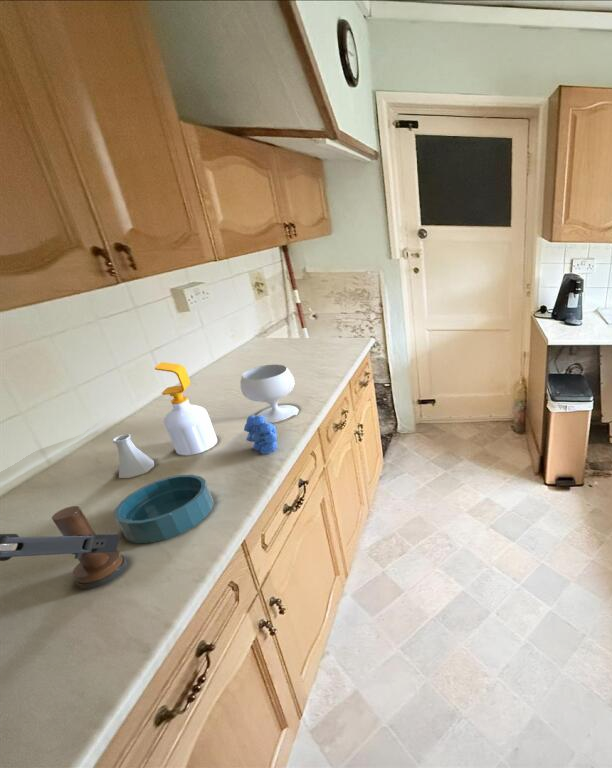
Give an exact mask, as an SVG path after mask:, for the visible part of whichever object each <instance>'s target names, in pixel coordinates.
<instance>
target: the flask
mask: <svg viewBox="0 0 612 768" xmlns="http://www.w3.org/2000/svg"><path fill="white" fill-rule="evenodd" d="M112 443H113V444H114V445H116V447H117V451H118V457H119V458H118V459H119V461H118V463H119V464H118V479H128V478H129V479H130V478H134V477H138V476H141V475H143V474H146V473H148V472H149V471H150V470H151V469H152V468H154V467H155V463H154V462H155V461H154V460H153V459H152V458H151V457H149V456H148V455H147V454H145V453H144V452H143V451H142V450H140V449H139V448H138V447H137V446H136V445H135V444H134V442H133V441H132V439H131V434H130V433H128V434H121V435H117V436H115V437H113V438H112Z"/></svg>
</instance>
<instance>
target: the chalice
mask: <svg viewBox="0 0 612 768" xmlns="http://www.w3.org/2000/svg"><path fill="white" fill-rule="evenodd" d="M295 385H296V381H295V378H294V375H293V374H292V372H291V371H290V369H289V368H288V367H287V366H285V365H284V364H283V365H282V364H266V365H259V366H256V367H253V368H250V369H248V370H246V371H245V372H243V373H242V375H241V378H240V391H241V393H242V395H243V396H244V397H245V398H246V399H247V400H250V401H253V402H258V403H266V404H268V405H269V406H270V407H268V408H266V409H264V410H262V411H260V412H258V414H257V415H260V416H263V417H265V418H266V420H265V422H269V423H276V422H281V421H284V420H286V419H289V418H290V417H292V416H297V415H298V414H299V410H300V409H299V408H298V407H297V406H294V405H289V404H288V405H287V404H283V405H279V401H280V400H281V399H283V398H284V397H286V396H288V395H289V394H290V393H291V392H292V391H293V390H294V388H295Z"/></svg>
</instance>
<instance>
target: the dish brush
mask: <svg viewBox="0 0 612 768" xmlns="http://www.w3.org/2000/svg"><path fill="white" fill-rule="evenodd" d="M51 520H52V521H53V523H54V524H55V527H56V528H57V529H58V530H59V532H60V534H61V536H78V535H89V534H93V535H97V534H96V533H95V531H94V529H93V527H92V525H90V523H89V521H88V519H87V518H86V516H85V514H84V512H83V510H82V509H81V507H80V506H79V505H72V506H67V507H64V508H62V509H60V510H58V511H57V512H55V513H54V514H53V515H52V516H51ZM75 555H76V554H74V556H75ZM77 560H78V561H79V563H78V564H77V565H75V567H74V568H73V570H72V576H73V578H74V582H75V583H76V585H77V587H78V588H79V589H80V590H93V589H98V588H100V587H103V586H105V585H107V584H109V583H111V582H112V581H114V580H115V579H117V578H118V577H119V576H121V575H122V574H123V573H124V572H125V571H126V569H127V567H128V562H127V559H126V558H125V556H124V555H123V554H121V552H120V551H119V550H118V549H117V550H116V552H104V553H88V554H82V556H81V558H80V559H77Z"/></svg>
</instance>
